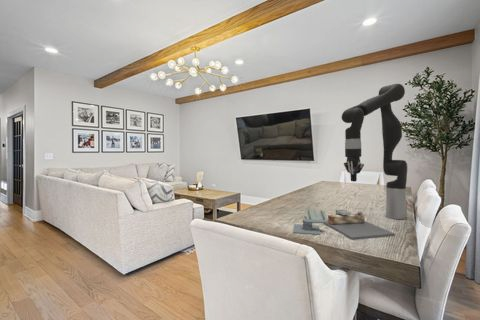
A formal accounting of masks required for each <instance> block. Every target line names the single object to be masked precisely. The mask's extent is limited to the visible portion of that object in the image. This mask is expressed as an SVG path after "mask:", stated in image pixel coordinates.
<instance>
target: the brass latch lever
mask: <svg viewBox="0 0 480 320" xmlns="http://www.w3.org/2000/svg"><path fill="white" fill-rule="evenodd" d="M327 216H328V217H327V220H328V223H330V224H342V223H358V222H359V223H364V221H365V214H363V213H362V215H359V214H358V213H351V215H336V214H333V215H332V214H331V215H327Z"/></svg>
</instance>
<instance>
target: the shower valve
mask: <svg viewBox="0 0 480 320" xmlns="http://www.w3.org/2000/svg"><path fill="white" fill-rule="evenodd" d="M324 223H325V221H324V220H314V219H307V218H303V219H302V223H301V224H300V223H294V224H293V234H300V235H312V236H314V235H315V236H321V230H320V226H319V225H315V224H324ZM313 224H314V225H313Z"/></svg>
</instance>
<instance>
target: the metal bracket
mask: <svg viewBox="0 0 480 320" xmlns="http://www.w3.org/2000/svg"><path fill="white" fill-rule="evenodd" d="M304 213H305V214H304V215H305V216H306V217H305V219H314V220H324V221H328V217H327V216H326V212H325V210H323V209H320V210H315V208H314V209H313V210H305V211H304Z"/></svg>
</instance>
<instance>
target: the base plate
mask: <svg viewBox="0 0 480 320" xmlns="http://www.w3.org/2000/svg"><path fill="white" fill-rule="evenodd" d="M357 214H359V215H362V214H363V211H357ZM323 224H324V225H325V226H327V227H329V228H331V229H332V230H334V231H336V232H338V233H340V235H341V234H342V235H343V236H344V237H346V238H348V239H350V240H351V241H352V240H363V239H373V238H383V237H394V236H396V233H395V232H392V231H390V230H388V229H385V228H382V227H380V226H377V225H375V224H374V223H371V222H368V221H366V220H364V223H359V222H358V223H342V224H330V223H328V221H325V223H323Z"/></svg>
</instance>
